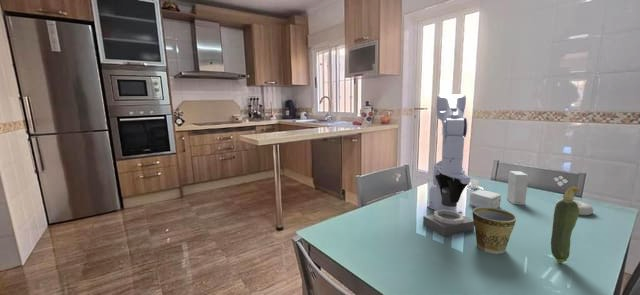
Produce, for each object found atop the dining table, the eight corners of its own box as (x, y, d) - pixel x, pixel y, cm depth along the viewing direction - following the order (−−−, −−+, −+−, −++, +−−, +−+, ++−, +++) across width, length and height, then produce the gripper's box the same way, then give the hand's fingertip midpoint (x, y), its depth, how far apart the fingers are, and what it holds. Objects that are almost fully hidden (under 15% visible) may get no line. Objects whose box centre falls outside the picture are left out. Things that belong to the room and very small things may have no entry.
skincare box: (525, 205, 106) (529, 175, 104) (513, 204, 106) (516, 174, 105) (517, 199, 112) (520, 171, 110) (506, 199, 112) (509, 170, 110)
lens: (438, 203, 87) (439, 188, 87) (446, 200, 90) (447, 186, 89) (451, 207, 84) (452, 192, 83) (459, 204, 86) (460, 189, 85)
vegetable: (543, 256, 71) (553, 182, 68) (559, 255, 71) (569, 181, 68) (559, 266, 66) (571, 187, 63) (576, 265, 67) (588, 187, 64)
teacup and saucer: (468, 184, 133) (468, 176, 133) (486, 188, 128) (487, 179, 127) (461, 189, 127) (462, 180, 127) (480, 192, 122) (481, 184, 121)
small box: (489, 211, 100) (490, 198, 100) (468, 205, 107) (469, 192, 106) (500, 207, 104) (501, 194, 104) (479, 201, 111) (480, 189, 110)
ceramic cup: (513, 262, 69) (517, 224, 67) (468, 251, 74) (471, 216, 72) (510, 240, 79) (514, 207, 78) (471, 232, 85) (474, 201, 83)
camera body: (423, 224, 90) (423, 212, 90) (451, 218, 94) (451, 207, 94) (444, 236, 82) (444, 223, 81) (473, 229, 86) (474, 217, 85)
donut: (564, 205, 106) (549, 208, 102) (566, 196, 106) (550, 200, 102) (598, 214, 97) (583, 219, 93) (600, 205, 96) (584, 209, 93)
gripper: (481, 161, 78) (477, 207, 80) (450, 152, 92) (447, 191, 94) (458, 162, 77) (455, 208, 79) (430, 153, 91) (428, 192, 93)
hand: (449, 199), depth 87 cm, fingers closed on lens, 4 cm apart
